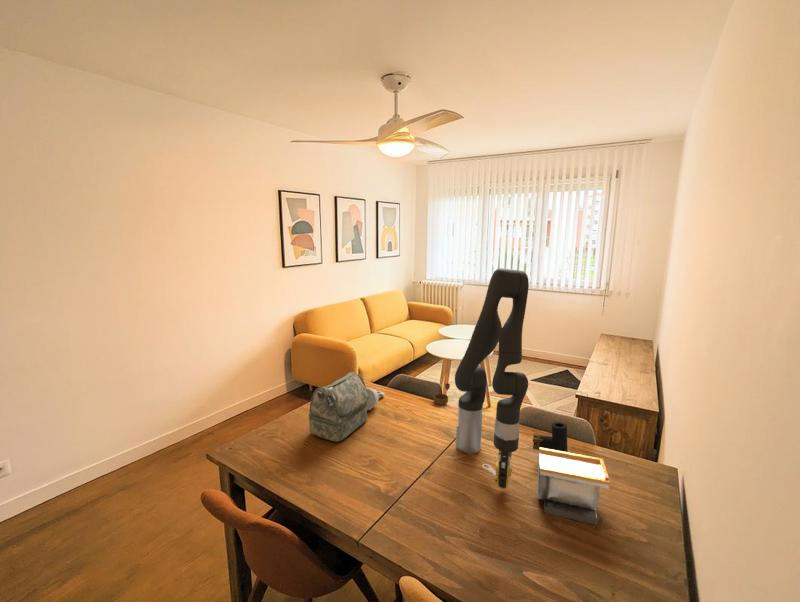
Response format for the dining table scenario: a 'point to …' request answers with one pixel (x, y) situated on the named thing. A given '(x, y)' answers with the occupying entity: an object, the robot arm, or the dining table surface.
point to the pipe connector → (553, 438)
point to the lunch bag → (339, 408)
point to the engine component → (373, 397)
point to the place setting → (441, 397)
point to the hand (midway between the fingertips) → (503, 480)
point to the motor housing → (570, 484)
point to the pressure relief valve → (498, 473)
